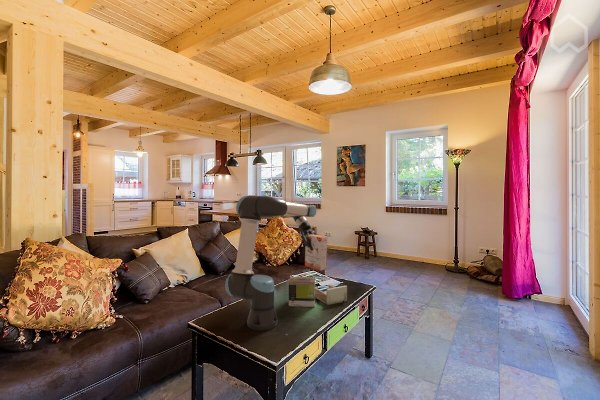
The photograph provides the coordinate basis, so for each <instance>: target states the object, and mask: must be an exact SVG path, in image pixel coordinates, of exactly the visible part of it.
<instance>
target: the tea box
mask: <svg viewBox="0 0 600 400" xmlns="http://www.w3.org/2000/svg"><path fill="white" fill-rule="evenodd" d="M315 287H316V277H315V276H312V277H311V276H290V277H289V279H288V306H289V307H307V308H315V303H316V298H315Z"/></svg>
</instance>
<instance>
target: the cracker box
mask: <svg viewBox="0 0 600 400" xmlns="http://www.w3.org/2000/svg"><path fill="white" fill-rule="evenodd" d="M307 236H308V237H309V239H310V241H311V245H312V244H313V246H314V248H315V249H316V251H317V254H316V255H315V256H314V254H313V252H312V251H311V250H310V248H308V247H307V246H305V247H304V248H305V254H304V267H308V268H311V269H314V270H316V271H320V272H321V271H324V270H327V261H328V260H327V257H328V237H327V236H324V235H320V234H318V235H314V234H309V235H306V237H307ZM306 244H307V243H306Z"/></svg>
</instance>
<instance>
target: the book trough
mask: <svg viewBox="0 0 600 400" xmlns="http://www.w3.org/2000/svg"><path fill="white" fill-rule="evenodd" d="M327 287H328V288H327V289H326V290H324V291H323V290H321V289H319V288H317V287H316V286H315V299H317V300H318V301H320V302H322V303H323V304H325V305H327V306H329V305H334V304H335V305H336V304H339V303H344V302H347V301H348V286H347V285H342V286H337V287H336V286H334V285H333V284H330V283H329V284H328V286H327ZM343 301H344V302H343Z"/></svg>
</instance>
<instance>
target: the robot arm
mask: <svg viewBox="0 0 600 400" xmlns="http://www.w3.org/2000/svg"><path fill="white" fill-rule="evenodd" d="M235 206H236V207H235V211H236V214H237V215H238V216H239V217H238V218H239V221H240V222H241V225H240V233H239V239H238V245H237V246H238V247H237V254H236V260H235V267H234V269H232V270H231V273H230V274H229V275H228V276H227V278H226V279H225V283H224V285H225V286H224V287H225V288H224V289H225V292H226V293H227V295H228V296H230V297H233V298H235V299H239V300H243V301H249V302H250V311H249V313H248V316H247V321H246V326H247V327H248V328H249V329H251V330H253V331H259V332H260V331H268V330H271V329H274V328H275V327H277V325H278V321H279V320H278V316H277V311H276V310H275V281H274V278H272V277H271V276H269V275H267V274H266V275H265V274H255V272H254V271H253V262H254V254H255V246H256V239H257V232H258V231H257V230H258V225H259V224H260V223H261V222H262V219H268V218H269V219H271V218H282V217H284V216H288V217H290V218H292V219H293V220H294V222H295V224H296V225H297V227H298V230H299V231H300V232H299V234H298V236H299V237H301V240H302V243H303V244H304V246H305V247H306V246H307V247H308V248H310V250H311V251H312V252H313V254H314V256H315V255H316V254H317V251H316V249H315V248H314V246H313V244H312V245H311V241H310V239H309V237H308V236H307V237H306V235H309V234H314V235H319V234H318V232H317V230H313V229H312V228H311V225H310V222H308V219H307V218H314V217H315V216H316V215H317V207H316V205H314V204H304V203H297V202H291V201H290V202H289V201H285V200H284V199H281V198H276V197H273V196H268V195H243V196H241V197H240V198H239V199H238V201H237V202H236V205H235ZM306 243H307V244H306Z"/></svg>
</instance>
